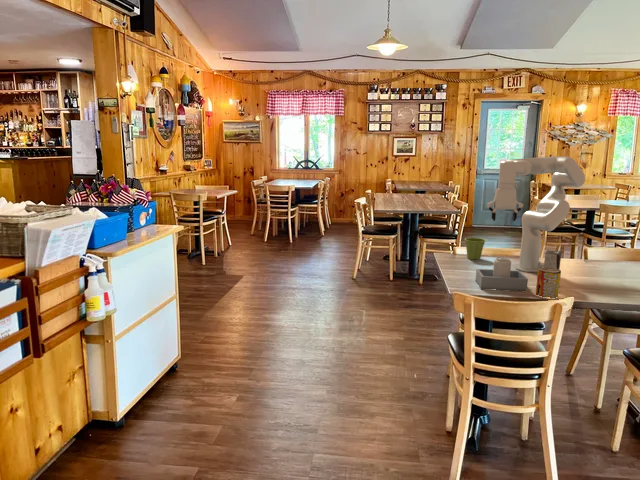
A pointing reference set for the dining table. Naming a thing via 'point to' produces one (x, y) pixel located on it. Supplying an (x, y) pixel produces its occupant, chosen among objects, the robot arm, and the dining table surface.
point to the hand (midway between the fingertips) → (503, 220)
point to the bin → (501, 280)
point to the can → (502, 267)
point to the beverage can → (548, 282)
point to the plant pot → (474, 247)
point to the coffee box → (552, 259)
